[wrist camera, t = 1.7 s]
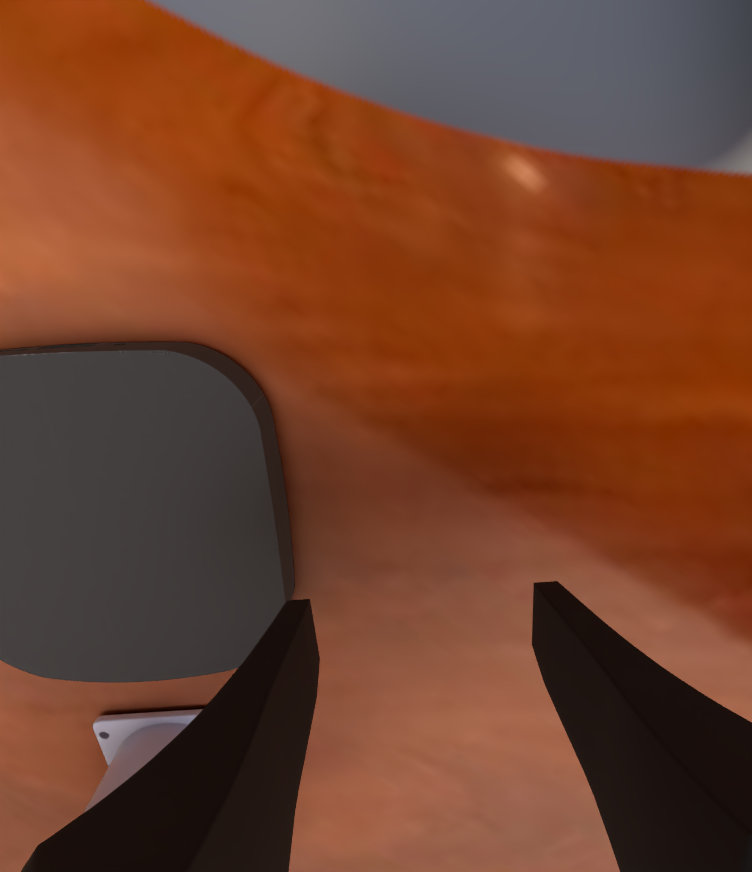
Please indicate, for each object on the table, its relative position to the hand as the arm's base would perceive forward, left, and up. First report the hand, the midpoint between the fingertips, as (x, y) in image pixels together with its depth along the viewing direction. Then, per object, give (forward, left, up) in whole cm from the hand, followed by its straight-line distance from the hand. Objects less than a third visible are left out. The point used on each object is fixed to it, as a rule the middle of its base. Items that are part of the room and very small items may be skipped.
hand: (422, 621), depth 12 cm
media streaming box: (0, +13, -9) cm, 15 cm away
